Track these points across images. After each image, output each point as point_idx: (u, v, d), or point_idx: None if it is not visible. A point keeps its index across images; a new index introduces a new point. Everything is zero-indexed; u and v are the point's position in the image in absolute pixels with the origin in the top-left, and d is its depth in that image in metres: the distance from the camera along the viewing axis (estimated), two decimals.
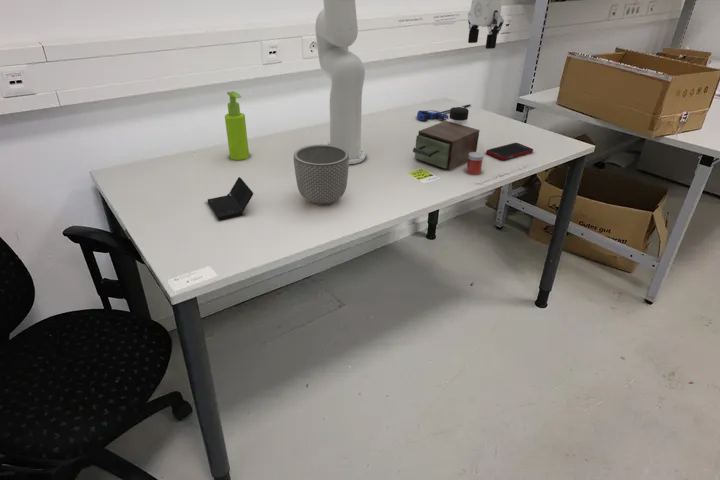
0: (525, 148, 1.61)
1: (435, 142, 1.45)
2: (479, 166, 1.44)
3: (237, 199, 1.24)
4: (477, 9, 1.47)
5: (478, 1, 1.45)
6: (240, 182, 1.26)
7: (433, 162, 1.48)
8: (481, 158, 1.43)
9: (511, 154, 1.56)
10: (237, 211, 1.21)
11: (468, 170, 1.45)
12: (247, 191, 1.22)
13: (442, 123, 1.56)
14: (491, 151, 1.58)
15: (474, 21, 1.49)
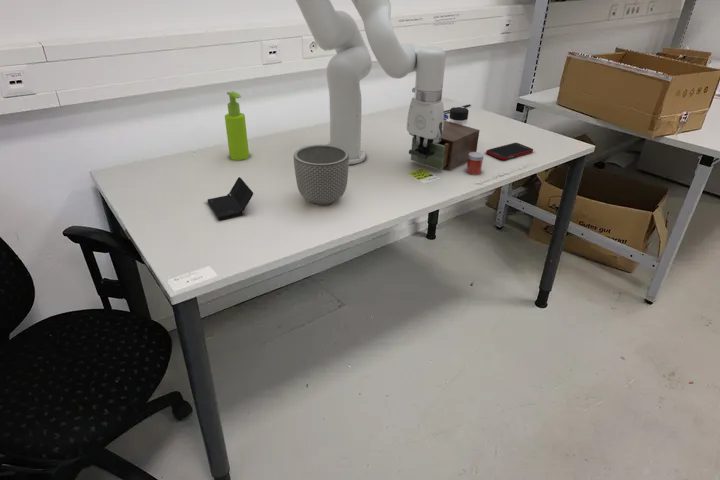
0: (525, 148, 1.61)
1: (431, 144, 1.44)
2: (479, 166, 1.44)
3: (237, 199, 1.24)
4: (419, 120, 1.38)
5: (419, 113, 1.36)
6: (240, 182, 1.26)
7: (429, 164, 1.47)
8: (481, 158, 1.43)
9: (511, 154, 1.56)
10: (237, 211, 1.21)
11: (468, 170, 1.45)
12: (247, 191, 1.22)
13: None
14: (491, 151, 1.58)
15: (415, 132, 1.40)
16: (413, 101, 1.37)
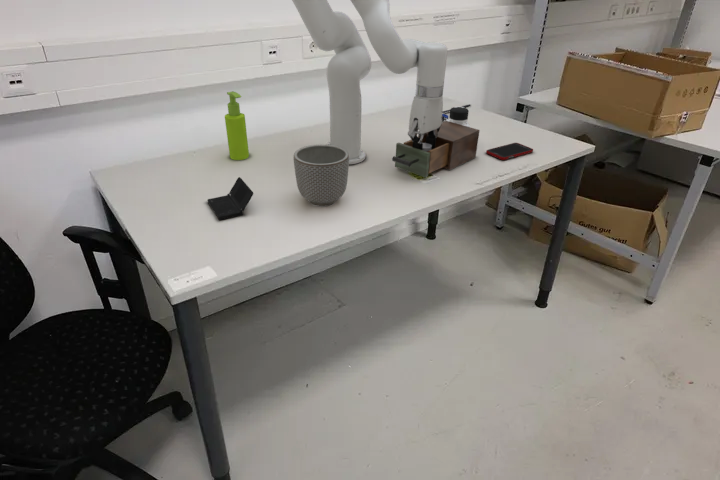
0: (525, 148, 1.61)
1: (415, 150, 1.39)
2: None
3: (237, 199, 1.24)
4: None
5: None
6: (240, 182, 1.26)
7: (413, 171, 1.42)
8: (429, 149, 1.43)
9: (511, 154, 1.56)
10: (237, 211, 1.21)
11: None
12: (247, 191, 1.22)
13: None
14: (491, 151, 1.58)
15: None
16: None
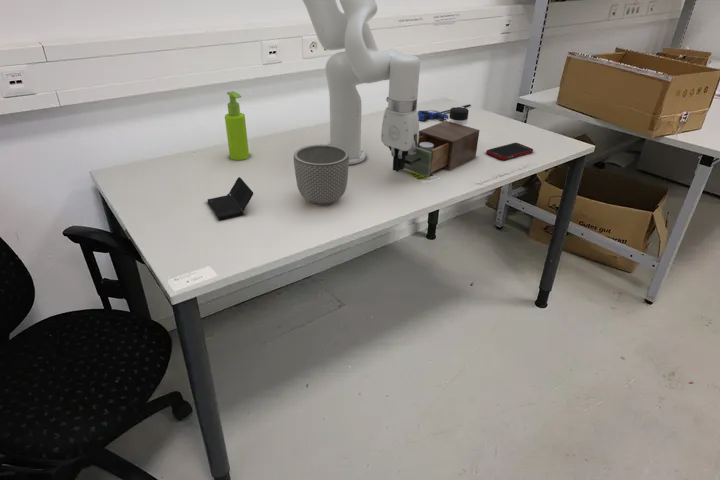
0: (525, 148, 1.61)
1: (417, 149, 1.39)
2: None
3: (237, 199, 1.24)
4: (393, 131, 1.31)
5: (393, 124, 1.30)
6: (240, 182, 1.26)
7: (415, 170, 1.43)
8: (431, 148, 1.43)
9: (511, 154, 1.56)
10: (237, 211, 1.21)
11: None
12: (247, 191, 1.22)
13: (442, 123, 1.56)
14: (491, 151, 1.58)
15: (390, 143, 1.33)
16: (387, 111, 1.30)
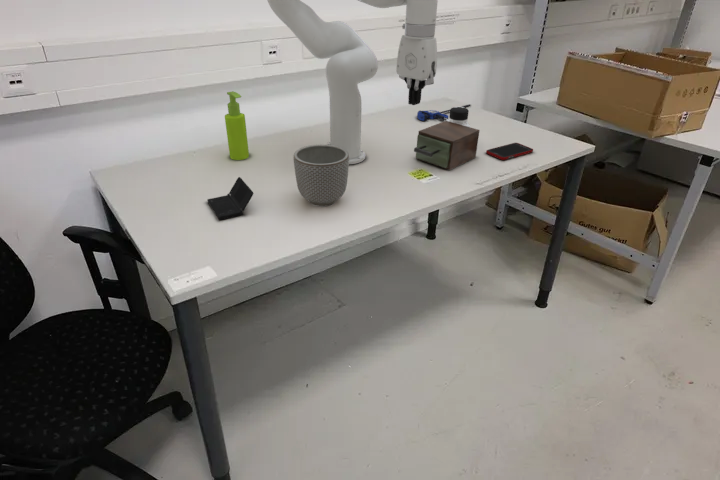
0: (525, 148, 1.61)
1: (436, 142, 1.45)
2: None
3: (237, 199, 1.24)
4: (409, 60, 1.25)
5: (410, 51, 1.24)
6: (240, 182, 1.26)
7: (434, 162, 1.48)
8: None
9: (511, 154, 1.56)
10: (237, 211, 1.21)
11: None
12: (247, 191, 1.22)
13: (442, 123, 1.56)
14: (491, 151, 1.58)
15: (406, 74, 1.27)
16: (403, 38, 1.24)
